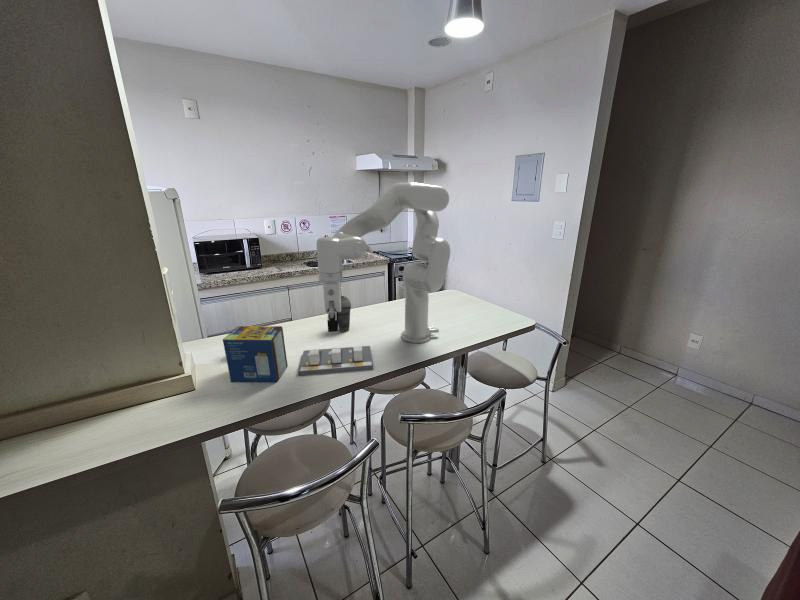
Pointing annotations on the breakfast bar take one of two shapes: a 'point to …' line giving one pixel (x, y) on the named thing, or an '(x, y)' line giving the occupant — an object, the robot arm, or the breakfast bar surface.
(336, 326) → the robot arm
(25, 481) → the breakfast bar surface
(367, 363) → the switch panel
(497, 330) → the breakfast bar surface
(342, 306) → the beverage cup
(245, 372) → the protein box
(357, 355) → the switch
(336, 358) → the switch middle
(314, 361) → the switch
